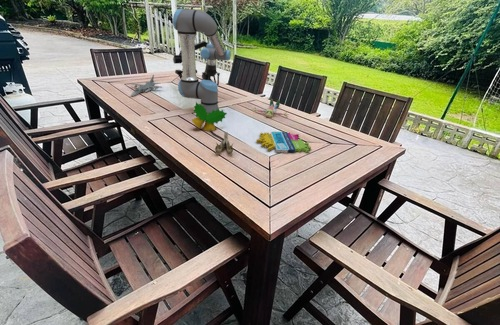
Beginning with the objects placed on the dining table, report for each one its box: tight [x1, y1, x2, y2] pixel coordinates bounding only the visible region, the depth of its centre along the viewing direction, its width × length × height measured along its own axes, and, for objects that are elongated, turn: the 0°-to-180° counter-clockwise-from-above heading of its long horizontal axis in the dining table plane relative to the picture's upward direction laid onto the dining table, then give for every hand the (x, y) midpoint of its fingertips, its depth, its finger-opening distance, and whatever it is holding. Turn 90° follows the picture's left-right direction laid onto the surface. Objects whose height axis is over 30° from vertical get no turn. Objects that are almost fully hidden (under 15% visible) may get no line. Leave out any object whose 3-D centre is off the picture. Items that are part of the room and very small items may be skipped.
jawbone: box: [214, 131, 234, 156], centre depth 136 cm, size 9×15×10 cm
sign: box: [256, 131, 312, 154], centre depth 152 cm, size 26×2×30 cm
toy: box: [251, 98, 290, 118], centre depth 199 cm, size 28×7×30 cm
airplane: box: [128, 74, 161, 97], centre depth 228 cm, size 38×31×10 cm
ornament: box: [191, 102, 228, 132], centre depth 162 cm, size 21×8×15 cm, turn 105°
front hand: (211, 93), depth 223 cm, fingers closed on canister, 4 cm apart
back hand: (186, 81), depth 235 cm, fingers open, 9 cm apart
